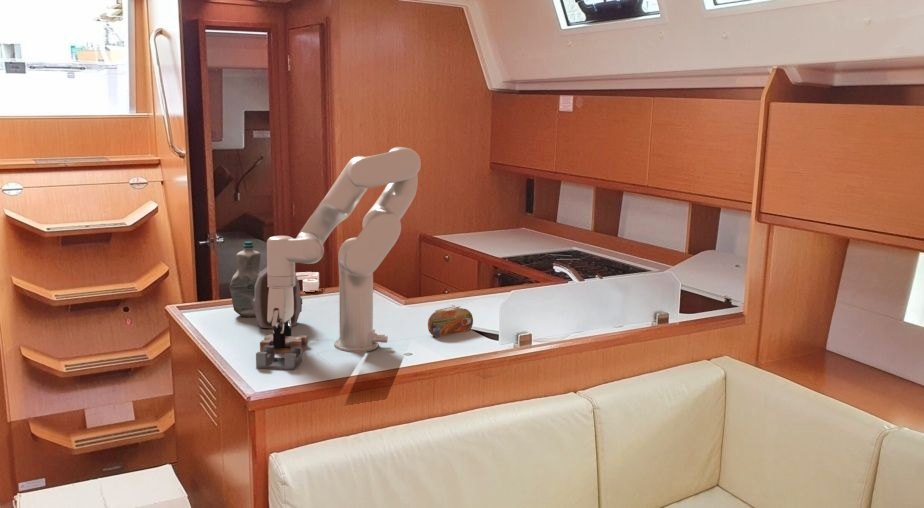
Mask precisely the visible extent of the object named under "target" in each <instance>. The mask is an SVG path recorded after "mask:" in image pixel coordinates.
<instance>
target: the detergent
mask: <svg viewBox="0 0 924 508" xmlns="http://www.w3.org/2000/svg"><path fill="white" fill-rule="evenodd" d="M242 248H243V250H241V251H239V252H237V254H236V266H237V270H236V272H235V273H234V274H233V275H232V278H231V280H230V284H229V293H230V297H231V301H232V302H231V303H232V307H233V311H234V312H236V314H237V315H239V316H241V317H242V318H253V317H256V315H255V314H254V311H253V299H254V298H255V284H256V281H257V278H258V274H259V273H260V272H261V271H262V270H261V271H260V265H261V255H262V254H261V253H260V252H259V251H257V250H254V244H253V241H251V240H250V241H249V240H248V241H244V242H243V245H242Z"/></svg>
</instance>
